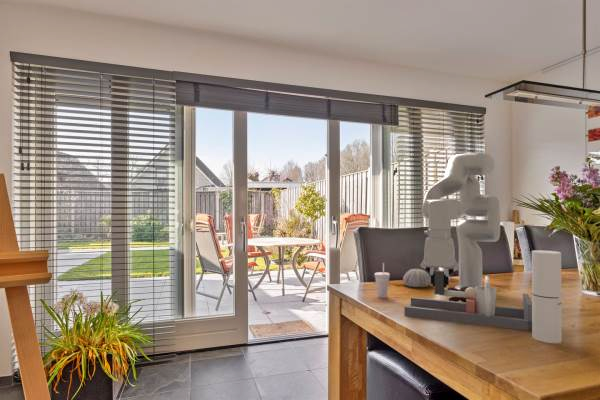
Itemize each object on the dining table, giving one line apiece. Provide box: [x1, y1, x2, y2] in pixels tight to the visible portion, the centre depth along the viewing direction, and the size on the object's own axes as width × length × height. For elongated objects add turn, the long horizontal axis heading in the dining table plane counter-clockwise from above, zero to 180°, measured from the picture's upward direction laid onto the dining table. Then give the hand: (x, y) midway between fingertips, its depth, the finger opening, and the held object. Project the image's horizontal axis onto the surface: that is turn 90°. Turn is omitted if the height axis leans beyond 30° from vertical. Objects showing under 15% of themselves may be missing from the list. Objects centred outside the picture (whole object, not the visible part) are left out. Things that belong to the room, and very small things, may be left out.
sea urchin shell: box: [402, 268, 432, 288], centre depth 178 cm, size 13×14×8 cm
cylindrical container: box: [531, 249, 563, 344], centre depth 108 cm, size 7×7×25 cm
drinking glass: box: [475, 285, 498, 316], centre depth 127 cm, size 7×7×10 cm
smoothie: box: [374, 262, 391, 299], centre depth 157 cm, size 6×6×14 cm
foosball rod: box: [434, 269, 476, 314], centre depth 131 cm, size 9×13×14 cm
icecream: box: [447, 286, 470, 303], centre depth 146 cm, size 7×8×15 cm
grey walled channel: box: [404, 275, 532, 332], centre depth 129 cm, size 15×38×13 cm, turn 65°
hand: (439, 286), depth 133 cm, fingers closed on foosball rod, 3 cm apart
